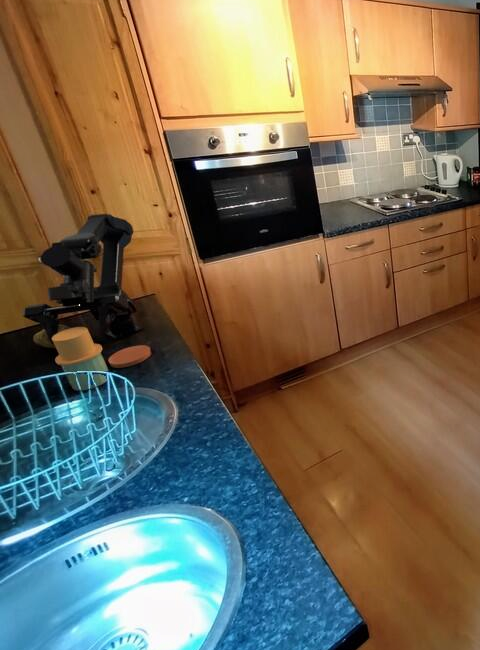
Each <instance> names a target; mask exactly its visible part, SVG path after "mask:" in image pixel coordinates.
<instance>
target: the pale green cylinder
mask: <svg viewBox="0 0 480 650" xmlns="http://www.w3.org/2000/svg"><path fill="white" fill-rule="evenodd" d="M60 366H61V368H62V370H63V372H64V373H65V372H77V371H109V372H110V370H109V368H108V366H107V364H106V362H105V359H104V356H103V354H102V351H101V352H100V353H99V354H98V355H97V356H95V357H93V358H91V359H89V360H87V361H84V362H81V363H77V364H73V365H60ZM65 376H66V378H67V380H68V383H69V384H70V386H71V388H72V389H73V390H74V391H78V392H81V391H88V390H89V389H88V375H87V374H84V373H81V374H77V378H78V381H79V383H80V385H81V391H79V388H78V386H77V383H76V375H75V374H69V375H66V374H65ZM93 380H94V382H95V383H96V384H97V387H100V386H102V385H103V384H105V383H106V382H108V380H107V379H106V376H104V375H101V374H94V375H93ZM95 388H96V387H95V385H94V384H93V385H91V389H90V390H92V389H95Z"/></svg>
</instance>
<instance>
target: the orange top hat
mask: <svg viewBox="0 0 480 650" xmlns="http://www.w3.org/2000/svg"><path fill="white" fill-rule="evenodd" d="M52 340H53V343H54V345H55V347H56V348H55V349H56V350H57V353H58V355H57V356H56V357H55V359H54V361H55V363H56V364H57V365H58V366H61V365H73V364H77V363H81V362H84V361H87V360H89V359H91V358H93V357H95V356H97V355H98V354H99V353H100V352H101V353H102V351H103V347H102V345H101V344H99V343H95V342H94V340H93V338H92V336H91V334H90V332H89V329H88V328H87V327H85V326H75V327H70V329H67V330H64V331H61V332H59V333H57V334H55V335H54V336H53V337H52Z"/></svg>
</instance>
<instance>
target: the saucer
mask: <svg viewBox="0 0 480 650" xmlns="http://www.w3.org/2000/svg"><path fill="white" fill-rule="evenodd" d="M151 355H152V351H151V347H149V346H148V345H143V344H142V345H141V344H140V345H132V346H129V347H126V348H122V349H121V350H118V351H116V352H115V353H113V354H112V355H110V357H109V358H108V360H107V361H108V364H109V366H110V367H111V368H114V369H115V368H116V369H123V368H129V367H132V366H135V365H138V364H140V363H142V362H144V361H145V360H147V359H148V358H149V357H150V356H151Z"/></svg>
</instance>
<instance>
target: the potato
mask: <svg viewBox="0 0 480 650" xmlns="http://www.w3.org/2000/svg"><path fill="white" fill-rule="evenodd" d="M70 328H71V327H70V326H68V325H65V324H59V328H58V333H59V332H61V331H64V330H67V329H70ZM32 338H33V339H32V341H33V342H34V343H35V344H36V345H37V346H40V347H43V348H47V349H56V347H55V345H53V344H51V342H50V340H49V338H48V336H47V334H46V332H45V330H44V328H42V330H41V331H38V332H37V333H35V334H34V335H33V337H32Z"/></svg>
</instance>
